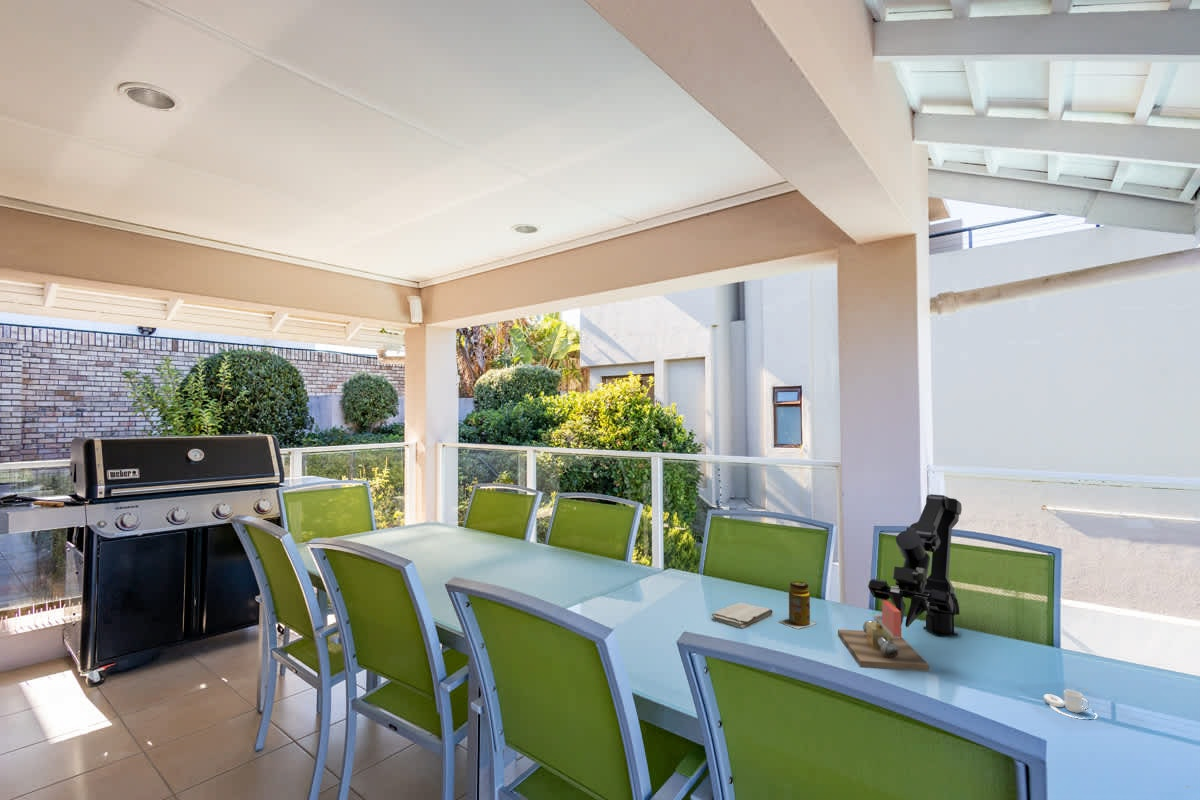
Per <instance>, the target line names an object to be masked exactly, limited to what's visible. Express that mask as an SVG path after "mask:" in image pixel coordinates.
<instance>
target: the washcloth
mask: <svg viewBox="0 0 1200 800" xmlns="http://www.w3.org/2000/svg"><path fill="white" fill-rule="evenodd" d="M711 616H712V618H711V620H712V621H715V622H718V623H720V624H724V625H728V626H730V627H734V628H738V629H745V628H748V627H751V626H753V625H756V624H758V623H760V622H761V621H764V620H766V619H768V618H770V617H772V616H773V609H771V608H767V607H763V606H757V605H752V604H749V603H744V602H737V603H735V604H732V605H729V606H727V607H724V608H721V609H719V610H717V611H714V612H712V613H711Z"/></svg>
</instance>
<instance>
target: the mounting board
mask: <svg viewBox="0 0 1200 800" xmlns="http://www.w3.org/2000/svg"><path fill="white" fill-rule="evenodd" d="M837 635H838V637H839V638H840V640H841V641H842V643H843V644H844V645H845V647H846V648H847V650H848V651H849V652H850V654H851V655H852V657H853V658H854V660H855V661H856V662H857V664H858V666H859V665H860V666H859V667H860V668H869V667H870V669H871V668H873V669H887V670H892V669H893V670H904V671H905V670H906V671H907V670H908V671H920V672H922V671H923V672H930V664H929V663H928V662H927V661H926V660H925V659H924V658H923V657H922V656H921V655H920V654H919V653H918V652H917V651H916V650H915V648H913V647H912V646H911V645H910V644H909V642H907V641H906V640H905V639H904V638H903V637H902V636H901V637H900V638H894V643H895V644H896V645H897V647H898V649H899V652H898V654H897V656H896V657H894V658H888V657H886V656H885V655H884V654H882V653H881V652H880V651H879V650H875V649H872V648H871V646H870V645H869V644H868V643H867V641H866V633H865V632H864V630H857V629H856V630H855V629H852V630H851V629H837Z"/></svg>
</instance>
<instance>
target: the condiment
mask: <svg viewBox="0 0 1200 800" xmlns="http://www.w3.org/2000/svg"><path fill="white" fill-rule="evenodd" d="M789 585H790V587H789V591H788V618H785V619H782V620H779V621H778V622H779V623H781V624H783V625H786V626H788V627H791V628H794V629H796V630H800V629H802V628H803V629H804V628H806V627H807V628H808V627H811V626H813V625H817V623H816V622H812V621H811V614H810V613H811V609H810V608H811V602H810V600H811V599H810V598H811V597H810V592H809V583H808V582H805V581H797V580H795V581H794V580H793V581H791V582H790V583H789Z"/></svg>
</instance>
